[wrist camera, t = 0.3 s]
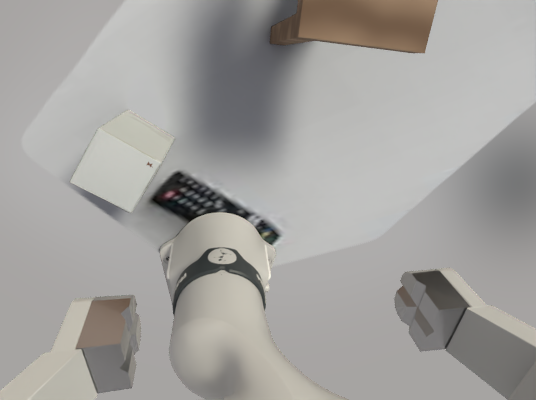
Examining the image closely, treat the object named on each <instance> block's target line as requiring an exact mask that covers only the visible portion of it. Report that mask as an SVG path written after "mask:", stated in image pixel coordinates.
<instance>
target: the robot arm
mask: <svg viewBox="0 0 536 400" xmlns="http://www.w3.org/2000/svg"><path fill="white" fill-rule="evenodd" d="M160 256H161V261H162V265H163V269H164V273H165V277H166V280H167V285H168V289H169V293H170V296H171V301H172V305H173V314H174V321H173V328H172V334H171V340H170V347H169V355H170V361H171V364H172V367H173V369H174V371H175V373H176V374H177V376H178V377H179V379H180V380H181V381H182V383H183V384H184V385H185V386H186V387H187V388H188V389H189V390H190V391H192V392H193V393H195V394H197V395H198V396H201V397H203V398H205V399H206V400H348V399H346V398H343V397H341V396H339V395H337V394H334V393H332V392H330V391H329V390H327V389H325V388H323V387H321V386H319V385H318V384H317V383H315V382H313V381H312V380H311V379H309V378H308V377H307V376H305V375H304V374H303V373H302V372H300V371H299V370H298V369H297V368H296V367H295V366H294V365H293V364H292V363H290V361H289V360H288V359H287V358H286V357H285V356H284V355H283V354H282V353H281V351H280V350H279V349H278V347H277V346H276V344H275V342H274V341H273V338H272V336H271V333H270V329H269V326H268V323H267V320H266V315H265V306H266V295H265V292H268V291H269V284H268V283H267V282H268V280H270V278H271V273H270V271H271V268H272V265H273V262H274V259H275V257H276V251H275V248H274V247H273V246H271V245H270V244H269V243H267V242H266V241H264V240H263V239H262V238H261V236H260V235H259V233H258V231H257V230H256V229H255V227H254V226H253V225H252V224H251V223H249V222H248V221H247V220H245V219H244V218H242V217H239V216H237V215H234V214H230V213H222V212H218V213H210V214H205V215H202V216H200V217H198V218H196V219H194V220H192V221H191V222H189V223H188V224H187V225H186V226H185V227H184V228H183V229H182V230H181V232H180V233H179V234H178V235H177V236H176V237H175V238H174V239H172V240H170V241H168V242H166V243H165V244H163V245H162V246H161V248H160ZM167 257H169V259H168V258H167ZM268 258H269V259H268ZM400 281H401V283H402V285H403V286H402V287H401V288H400V289H399V290H398V291H397V292H396V296H395V308H396V311H397V314H398V316H399V317H400V319H401V321H403V322H404V323H406V324H407V325H409V326H410V327H409V334H410V336H411V337H412V339H413V340H414V342H415V344H416V345H417V347H418V348H419V350H420V351H430V350H440V349H446V351H447V352H448V353H450V354H451V355H452V356H453V357H455V358H456V359H457V360H458V361H460V362H461V363H462V364H464V365H465V366H466V367H467V368H468V369H470V370H471V371H472V372H474V373H475V374H476V375H478V376H479V377H480V378H481V379H482V380H484V381H485V382H486V383H487V384H489V385H490V386H491V387H492V388H494V389H495V390H496V391H497V392H499V393H500V394H501V395H503V396H504V397H505V398H506V399H507V400H536V329H535V328H533V327H532V326H530V325H528V324H526V323H524V322H522V321H520V320H518V319H516V318H514V317H512V316H511V315H509V314H507V313H505V312H503V311H501V310H499V309H497V308H495V307H494V306H487V305H486V304H485V303H484V302H483V301H482V300H481V299H480V297H479V296H478V295H476V293H475V292H474V291H473V290H472V289H471V288H470V287H469V285H467V283H466V282H465V281H464V280H463V279H462V278H461V277H460V276H459V275H458V273H456V271H455V270H453V269H451V268H441V269H430V270H419V271H409V272H405V273H404V274H403V275H402V278H401V280H400ZM136 306H137V303H136V299H135V296H134V295H121V296H105V297H95V298H78V299H74V301H73V302H72V303H71V304H70V306H69V309H68V311H67V314H66V316H65V319H64V321H63V323H62V325H61V328H60V330H59V333H58V335H57V337H56V340H55V342H54V345H53V347H52V349H51V352H48V353H43V354H42V355H41V356H40V357H39V358H37V359H36V360H35V361H34V362H33V363H32V364H31V365H29V366H28V367H27V368H26V369H25V370H24V371H22V372H21V373H20V374H19V375H18V376H17V377H16V378H14V379H13V380H12V381H11V382H10V383H9V384H7V385H6V386H5V387H4V388H3V389H2V390H0V400H94V399H95V398H96V397H97V396H98V395H97V393H103V392H110V391H116V390H122V389H129V388H132V386H133V380H134V374H135V369H136V361H135V357H134V354H135V353H136V352H137V351H138V350H139V345H140V337H141V324H140V317H139V315H138V314H137V313H135V311H136Z"/></svg>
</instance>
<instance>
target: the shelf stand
mask: <svg viewBox="0 0 536 400" xmlns="http://www.w3.org/2000/svg"><path fill="white" fill-rule="evenodd" d="M437 2H438V0H298V6H297V13H296V14H295V15H293V16H291V17H289V18H287V19H285V20H283V21H281V22H279V23H278V24H276V25H274V26H272V27H271V35H270V44H277V45H290V44H296V43H303V42H309V41H321V42H329V43H337V44H345V45H353V46H361V47H368V48H376V49H384V50H392V51H400V52H408V53H425V49H426V45H427V41H428V37H429V34H430V30H431V26H432V22H433V18H434V14H435V10H436V6H437Z"/></svg>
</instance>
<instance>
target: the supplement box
mask: <svg viewBox="0 0 536 400" xmlns="http://www.w3.org/2000/svg"><path fill="white" fill-rule="evenodd" d="M174 140H175V138H174V137H173V136H171V135H169V134H168V133H166V132H165V131H163V130H161V129H160V128H158V127H156V126H155V125H153V124H151V123H150V122H148V121H147V120H145V119H143V118H142V117H140V116H138V115H137V114H135V113H133V112H132V111H130V110H127V111H125V112H123V113H122V114H120V115H119V116H117V117H115V118H114V119H112V120H111V121H109V122H108V123H106V124H104V125H103V126H101V127H100V128H98V129H97V131H96V132H95V134H94V136H93V138H92V140H91V142H90V143H89V145H88V147H87V149H86V151H85V153H84V155H83V157H82V159H81V160H80V162H79V164H78V166H77V168H76V170H75V172H74V174H73V176H72V178H71V180H70V183H72V184H74V185H76V186H78V187H80V188H82V189H84V190H86V191H88V192H90V193H92V194H94V195H96V196H98V197H100V198H102V199H104V200H106V201H108V202H109V203H111V204H113V205H115V206H117V207H119V208H121V209H123V210H125V211H126V212H128V213H132V212H133V210H134V209H135V207H136V205H137V204H138V202H139V201H140V199H141V198H142V196H143V194H144V193H145V191H146V190H147V188H148V186H149V185H150V183H151V181H152V180H153V178H154V176H155V175H156V173H157V171H158V169H159V167H160V166H161V164H162V162H163V160H164V158H165V157H166V155H167V153H168V151H169V149H170V147H171V145H172V143H173V142H174Z"/></svg>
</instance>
